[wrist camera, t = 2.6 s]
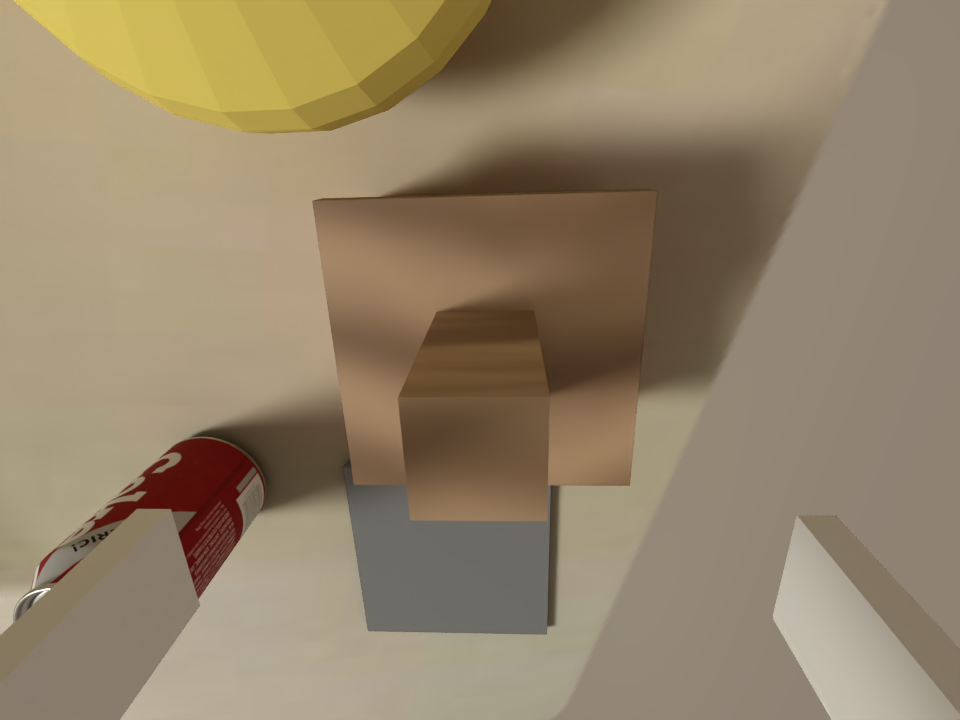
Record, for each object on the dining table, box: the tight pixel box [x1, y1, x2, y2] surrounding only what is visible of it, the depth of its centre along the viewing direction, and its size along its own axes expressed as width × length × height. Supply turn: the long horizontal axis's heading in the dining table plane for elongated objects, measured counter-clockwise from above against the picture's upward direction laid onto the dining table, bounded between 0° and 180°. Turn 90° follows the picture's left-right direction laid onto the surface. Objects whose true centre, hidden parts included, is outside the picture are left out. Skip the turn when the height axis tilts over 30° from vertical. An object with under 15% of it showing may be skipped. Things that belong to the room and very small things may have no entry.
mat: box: [343, 463, 551, 635], centre depth 34 cm, size 14×13×1 cm
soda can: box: [13, 437, 267, 622], centre depth 28 cm, size 7×7×12 cm
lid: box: [312, 189, 657, 521], centre depth 18 cm, size 13×13×9 cm
